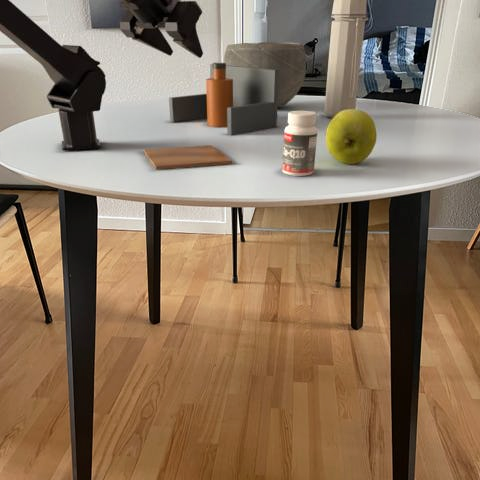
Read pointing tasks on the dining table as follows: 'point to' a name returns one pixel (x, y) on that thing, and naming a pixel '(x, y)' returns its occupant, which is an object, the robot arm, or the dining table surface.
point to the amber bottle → (219, 96)
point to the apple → (351, 136)
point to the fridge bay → (237, 101)
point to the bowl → (273, 63)
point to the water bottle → (344, 55)
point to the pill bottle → (300, 143)
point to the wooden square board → (185, 157)
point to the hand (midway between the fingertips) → (186, 54)
